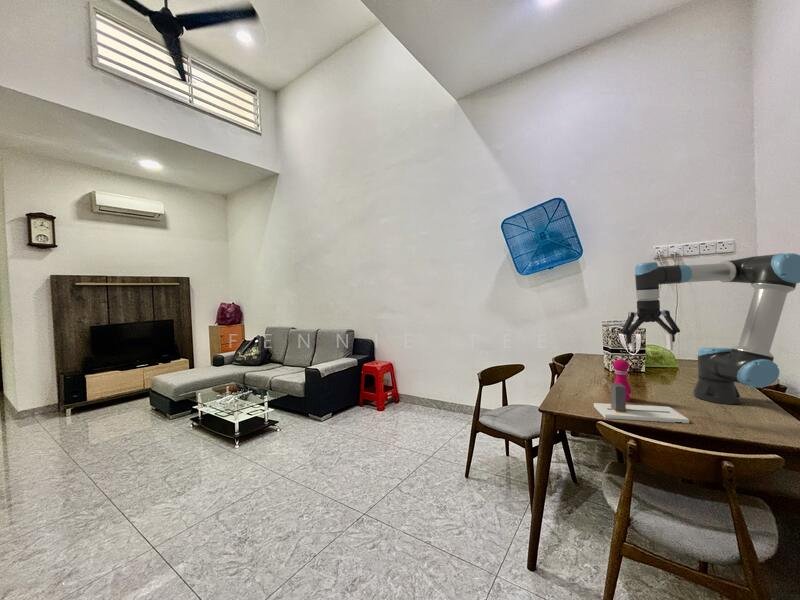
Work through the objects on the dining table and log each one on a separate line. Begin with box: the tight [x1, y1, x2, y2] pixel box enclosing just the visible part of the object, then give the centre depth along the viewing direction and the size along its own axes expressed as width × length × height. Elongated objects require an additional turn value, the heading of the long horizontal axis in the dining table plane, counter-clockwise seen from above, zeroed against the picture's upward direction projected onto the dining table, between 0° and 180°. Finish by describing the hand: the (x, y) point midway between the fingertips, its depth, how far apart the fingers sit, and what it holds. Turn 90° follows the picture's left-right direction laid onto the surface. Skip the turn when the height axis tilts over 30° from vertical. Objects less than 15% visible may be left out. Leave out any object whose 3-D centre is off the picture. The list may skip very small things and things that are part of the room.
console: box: [593, 402, 690, 424], centre depth 128 cm, size 28×13×2 cm, turn 75°
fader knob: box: [610, 382, 627, 411], centre depth 130 cm, size 4×5×10 cm
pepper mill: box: [612, 356, 632, 402], centre depth 145 cm, size 7×7×20 cm
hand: (650, 350), depth 131 cm, fingers open, 13 cm apart
